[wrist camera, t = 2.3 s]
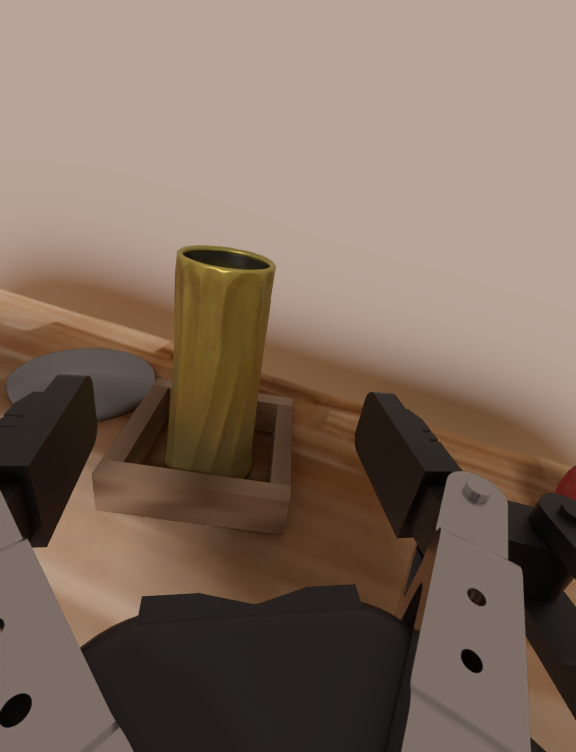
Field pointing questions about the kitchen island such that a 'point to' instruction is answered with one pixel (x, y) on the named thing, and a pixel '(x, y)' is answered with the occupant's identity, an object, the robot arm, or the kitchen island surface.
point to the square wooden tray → (195, 473)
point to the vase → (217, 358)
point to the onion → (568, 484)
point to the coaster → (106, 368)
